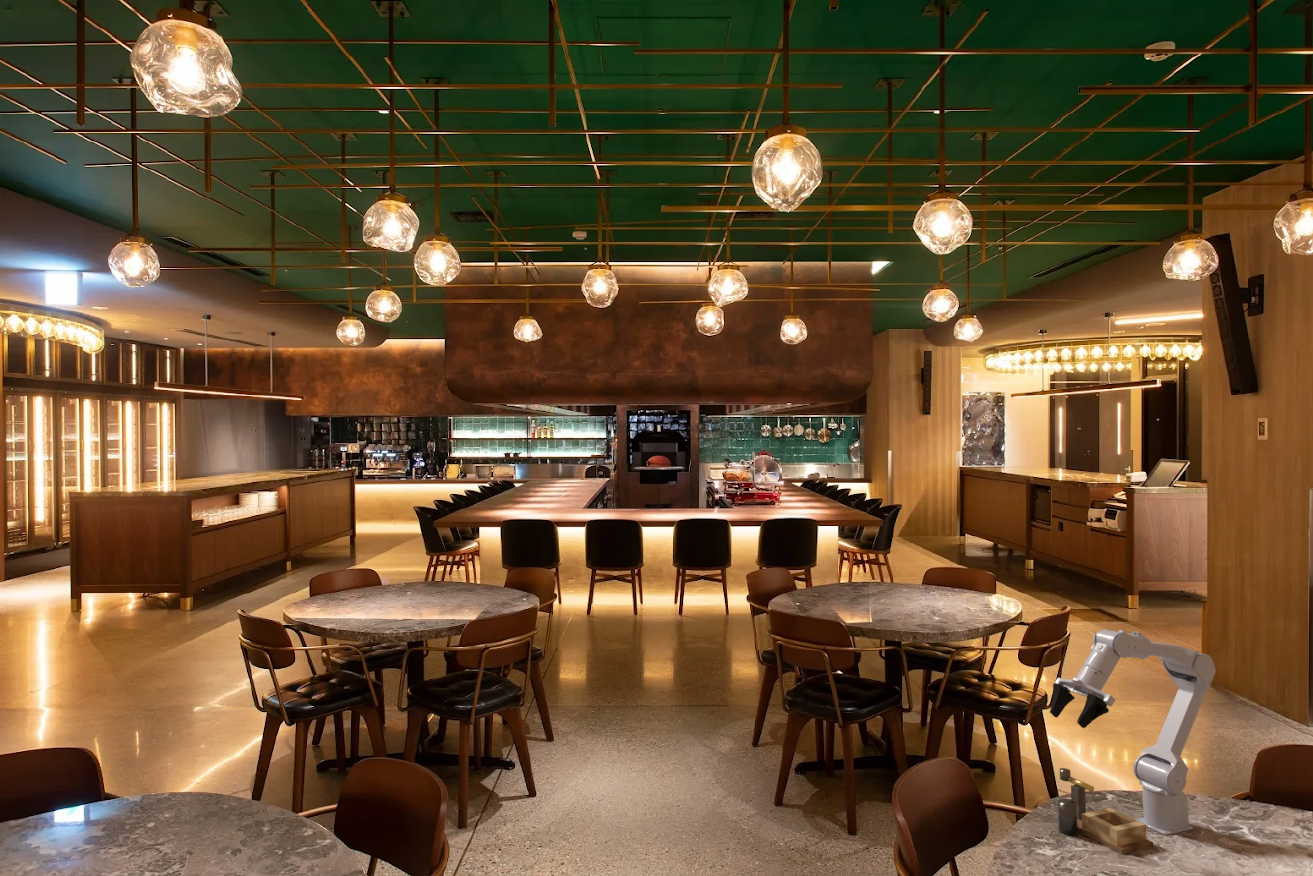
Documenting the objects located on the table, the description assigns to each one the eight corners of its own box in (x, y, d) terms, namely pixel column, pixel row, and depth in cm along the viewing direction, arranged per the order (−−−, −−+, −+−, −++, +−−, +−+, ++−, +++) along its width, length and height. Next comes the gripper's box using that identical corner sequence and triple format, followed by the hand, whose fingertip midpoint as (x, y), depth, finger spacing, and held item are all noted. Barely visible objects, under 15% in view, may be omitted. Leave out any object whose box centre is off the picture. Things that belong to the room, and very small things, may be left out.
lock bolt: (1064, 777, 189) (1064, 767, 189) (1095, 791, 181) (1095, 781, 181) (1057, 778, 188) (1057, 768, 189) (1088, 792, 180) (1088, 782, 180)
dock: (1088, 815, 187) (1087, 781, 187) (1153, 847, 171) (1152, 809, 171) (1058, 821, 183) (1057, 787, 184) (1121, 854, 167) (1120, 816, 168)
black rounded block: (1067, 827, 180) (1066, 798, 181) (1081, 834, 177) (1080, 804, 177) (1054, 829, 179) (1054, 800, 180) (1069, 837, 175) (1068, 807, 176)
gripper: (1059, 655, 184) (1031, 700, 180) (1112, 671, 170) (1083, 720, 167) (1076, 672, 185) (1048, 717, 182) (1129, 689, 171) (1101, 738, 168)
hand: (1066, 720), depth 174 cm, fingers open, 7 cm apart
